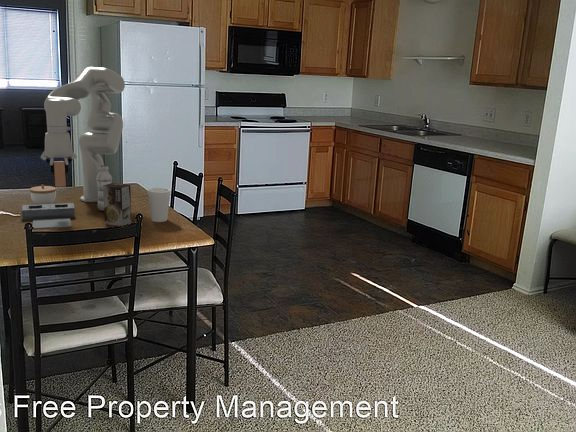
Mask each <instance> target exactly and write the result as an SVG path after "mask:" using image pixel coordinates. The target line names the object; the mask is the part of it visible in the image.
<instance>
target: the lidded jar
mask: <svg viewBox="0 0 576 432" xmlns="http://www.w3.org/2000/svg"><path fill="white" fill-rule="evenodd" d="M56 191H57V187H55V186H51V185H45V184H41V185H39V186H33V187H30V188H29V193H30V198H31V202H32V203H34V204H33V205H37V204H54V203H55V201H56V197H57V192H56Z"/></svg>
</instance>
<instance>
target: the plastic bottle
mask: <svg viewBox="0 0 576 432" xmlns="http://www.w3.org/2000/svg"><path fill="white" fill-rule="evenodd" d="M99 170H100V172H99V173H98V175H97V178H96V180H97V185H98V202H97V205H96V206H97V208H98V209H97V210H99V211H102V212H104V198H103V186H104V185H107V184H110V183H113V182H112V180H113V177H112V175H111V174H110V171H109V165H107V164H104V165H101V166H99Z"/></svg>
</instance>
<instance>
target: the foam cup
mask: <svg viewBox="0 0 576 432" xmlns="http://www.w3.org/2000/svg"><path fill="white" fill-rule="evenodd" d="M146 194H147V198H148V199H147V200H148V206H149V212H150V213H149V214H150V218H151V219H150V220H151V221H152V222H153V223H162V222H167V220H168V214H169V206H170V198H171V197H170V196H171V194H172V193H171V189H170V188H167V187H151V188H148V189H147V190H146Z"/></svg>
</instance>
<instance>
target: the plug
mask: <svg viewBox="0 0 576 432" xmlns="http://www.w3.org/2000/svg"><path fill="white" fill-rule="evenodd" d="M53 163H54V171H55V175H54V184H55V185H54V187H55V188H61V187H62V188H63V187H64V188H65V187H67V186H66V185H67V184H66V183H67V182H66V175H65V160H64V161H63V160H60V161H59V160H58V161H54V160H53Z"/></svg>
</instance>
